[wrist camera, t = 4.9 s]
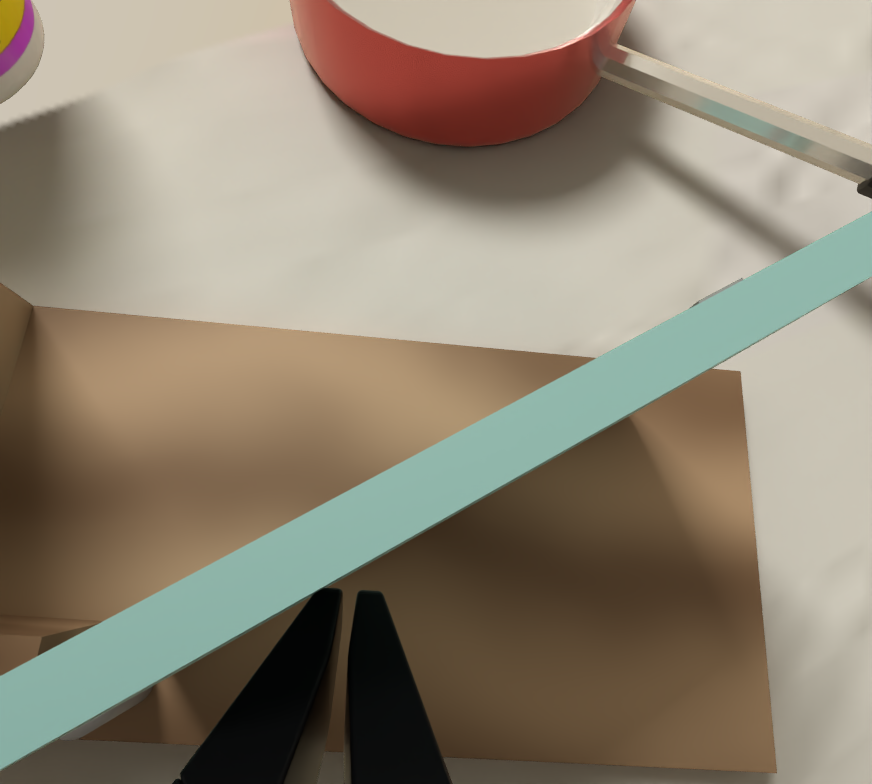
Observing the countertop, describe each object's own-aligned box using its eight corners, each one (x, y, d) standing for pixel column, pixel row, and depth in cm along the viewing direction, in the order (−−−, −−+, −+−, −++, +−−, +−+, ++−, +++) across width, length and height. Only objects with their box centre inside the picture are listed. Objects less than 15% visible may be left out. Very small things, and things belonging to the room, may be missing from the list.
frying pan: (1061, 199, 23) (1300, 74, 17) (993, 469, 20) (1264, 431, 14) (399, -135, 26) (403, -350, 20) (228, 53, 22) (166, -140, 16)
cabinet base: (753, 759, 16) (1619, 1245, 5) (-109, 717, 15) (-1772, 1262, 3) (723, 380, 20) (1196, 134, 8) (13, 315, 18) (-628, -95, 7)
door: (632, 421, 18) (934, 257, 8) (116, 715, 14) (-459, 1057, 5) (610, 386, 18) (875, 186, 8) (98, 667, 15) (-483, 895, 5)
